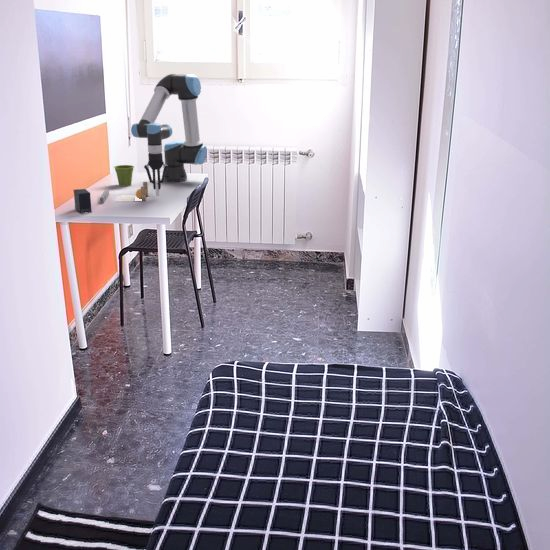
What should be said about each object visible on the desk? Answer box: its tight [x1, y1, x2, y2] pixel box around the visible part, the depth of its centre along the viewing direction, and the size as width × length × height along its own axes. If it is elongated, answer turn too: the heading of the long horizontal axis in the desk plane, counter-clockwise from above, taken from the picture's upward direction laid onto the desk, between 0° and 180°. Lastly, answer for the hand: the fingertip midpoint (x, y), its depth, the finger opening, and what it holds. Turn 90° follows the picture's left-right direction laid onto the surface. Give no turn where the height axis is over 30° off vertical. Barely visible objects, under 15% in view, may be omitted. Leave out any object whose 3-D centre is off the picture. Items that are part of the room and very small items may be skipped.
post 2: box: [140, 185, 147, 202], centre depth 363 cm, size 2×2×8 cm
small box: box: [73, 188, 92, 214], centre depth 343 cm, size 11×6×10 cm, turn 29°
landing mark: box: [115, 194, 137, 203], centre depth 370 cm, size 14×14×1 cm
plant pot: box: [113, 164, 135, 187], centre depth 400 cm, size 12×12×11 cm
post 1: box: [142, 181, 149, 197], centre depth 375 cm, size 2×2×8 cm
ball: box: [135, 188, 141, 199], centre depth 369 cm, size 6×6×6 cm
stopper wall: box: [99, 189, 110, 204], centre depth 368 cm, size 20×2×3 cm, turn 5°
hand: (157, 195), depth 370 cm, fingers closed
